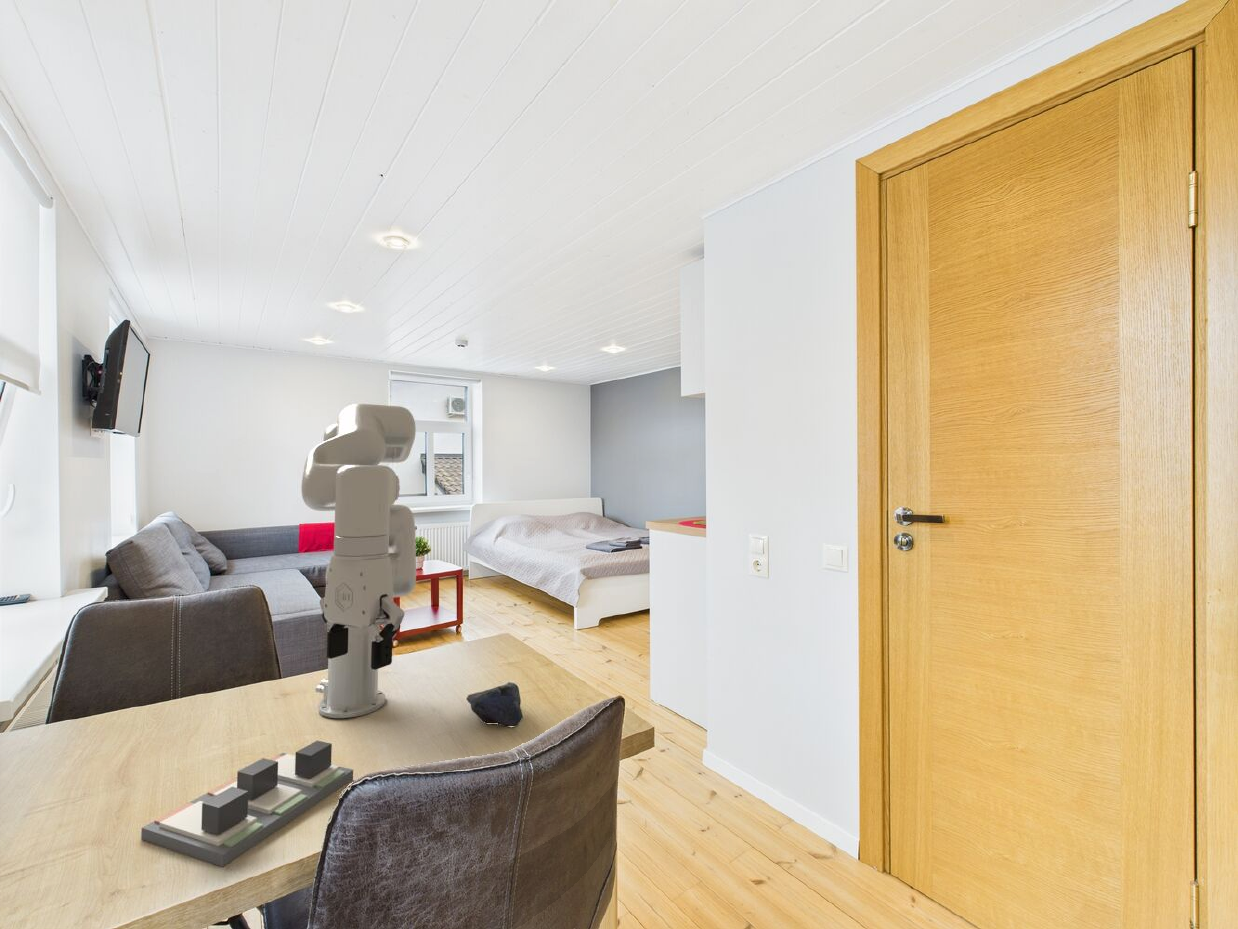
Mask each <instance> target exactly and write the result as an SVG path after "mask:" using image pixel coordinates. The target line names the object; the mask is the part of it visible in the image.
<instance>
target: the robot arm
mask: <svg viewBox="0 0 1238 929" xmlns="http://www.w3.org/2000/svg"><path fill="white" fill-rule="evenodd" d="M416 431H417V429H416V421H415V417H414V416H413V414H412V413H411V411H410V410H408V408H406V407H403V406H400V405H385V404H384V405H383V404H370V403H357V404H351V405H348V406H346V407H344V409H342V410H341V411H340V413H339V415H338V418H337V423H334V424H332V425H329V426H328V427H327V428H326V429H325V431H324V433H323V442H321V443H319V444H317V445H315V447H313V448H312V449H311V450H310V452H309V453H308V455H307V457H306V458H305V459H306V460H305V463H304V467H303V472H302V478H301V479H302V480H301V496H302V500H303V503H304V504H305V505H306V506H307V507H308V508H309V509H311V510H314V511H317V512H318V511H320V512H332V511H334V534H333V535H334V536H333V539H334V540H333V555H332V556H331V558H330V562H329V563H328V564H327V567H326V570H325V591H324V597H322V598H320V599H319V605H320V608H321V609H320V610H321V613H322V614H321V617H322V619H323V621H324V623H325V625H324V629H325V631H326V632H327V638H326V639H327V640H326V658H327V659H328V661H327V662H328V663H327V664H328V665H327V679H325V678H324V679H322V680H321V681H320V682H319V683H320V684H318V685H317V686H316V687H315V692H316V693H319V694H323V699H322V700H320V702H319V704H318V708H317V709H318V713H319V715H322V716H323V717H326V718H330V719H350V718H356V717H360V716H364V715H367V714H370V713H372V712H374V711H377V710H379V709H380V708H381V707H383V705H385V703H386V694H385V693H384V692H383V691H381V690H378V689H379V688H378V687H379V669H382V668H384V667H387V666H390V665H391V664H392V663H393V639H394V638H395V637H396V636H397V633H398V631H399V630H400V629H401V624H402V622H403V620H404V617H405V611H404V610H403V609H402V608H401V607H400V606H399V605H398V604H397V603H396V602H395V601H394V598H401V597H407V596H409V595H410V594H411V593H413V591H414V590H415V589H416V588H415V587H416V582H417V560H416V559H417V554H416V527H415V526H416V524H415V518H414V514H413V511H412V510H411V508H410V507H408V506H406V505H403V504H395V502H396V501H397V500H399V496H400V490H401V488H400V487H401V486H400V478H399V476H398V475H396V472H395V471H394V470H393V469H392V467H389V466H387V465H381V464H380V463H391V464H392V463H393V464H394V463H395V464H396V463H397V464H398V463H402V462H405V461H407V459H408V458H409V457H410V453H411V451H412V448H413V445H414V442H415V439H416V433H417V432H416ZM389 549H390V550H391V551H393V552H389ZM380 626H382V627H383V628H382V629H380Z"/></svg>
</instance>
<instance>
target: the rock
mask: <svg viewBox="0 0 1238 929" xmlns="http://www.w3.org/2000/svg"><path fill="white" fill-rule="evenodd" d="M467 695H468V696H467V697H466V701H467V703H469V704H470V709H471V711H472V712H473V713H474V714H475V716H477V717H478V718H480V719H481V720H482V721H483V722H482V721H481V720H480V719H479V720H480V721H481V722H482V723H484V722H485V723H498V724H500V725H502V726H504V727H507V726H516V725H517V726H518V725H519V724H520V722H521V721H522V720H523V711H522V708H521V703H522V702H521V701H522V700H521V695H520V688H519V686H518V685H517V684H516V683H515V682H510V681H508V682H507V683H505V684H504V685H499V686H496V687H493V688H490V689H485V690H482V691H479V692H475V693H471V694H467ZM485 723H484V724H485ZM517 726H516V727H517Z"/></svg>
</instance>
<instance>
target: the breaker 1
mask: <svg viewBox="0 0 1238 929" xmlns="http://www.w3.org/2000/svg"><path fill="white" fill-rule="evenodd" d="M247 817H248V791H246V790H242V789H239V788H235V787H231V788H229V789H227V790H225V791H223V792H222V793H220V794H218V795H216V796H214V797H212V798H211V799H209V800H207V801H205V802H203V803H202V826H201V830H203V831H206V832H209V833H212V834H215V835H219V834H221V833H222V832H224V831H226V830H227V829H229V828H231V827H232V826H234V825H236V824H237V823H239V822H240V821H242V820H244V819H245V818H247Z"/></svg>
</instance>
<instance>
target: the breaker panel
mask: <svg viewBox="0 0 1238 929" xmlns="http://www.w3.org/2000/svg"><path fill="white" fill-rule="evenodd" d="M295 756H296V755H294V754H293V755H292V754H290V753H285V752H282V753H280V754H278V755H274V756H273V757H271V758H269V760H273V761H277V762H278V783H277V786H275V787H274V788H272V789H270V790H269V791H267V792H265V793H264V794H262V795H260V796H258V797H257V798H255V799H253V800H249V799H248V817H247V818H245V819H244V820H242V821H240V822H239V823H237V824H236V825H234V826H232V827H231V828H229V829H227V830H226V831H224V832H222V833H221V834H219V835H215V834H212V833H209V832H206V831H203V830H201V826H202V803H203V802H205V801H207V800H209V799H211V798H212V797H214V796H216V795H218V794H220V793H222V792H223V791H225V790H227V789H229V788H231V787H235V788H237V776H235V777H234V778H231V779H230V780H228V781H226V782H224V783H222V784H220V785H219V786H217V787H215V788H213V789H211V790H210V791H207V792H205V793H204V794H203V795H201V796H199V797H197V798H195V799H193V800H191V801H190V802H187V803H185V804H183V805H181V806H179V807H177V808H175V809H173V810H172V811H169V812H168V813H166V814H164V815H162V816H160V817H158V818H157V819H155V820H153V821H152V822H150V823H148V824H146V825H144V826H142V827H141V832H140V834H141V837H140V839H141V840H143V841H146V842H148V843H151V844H155V845H157V846H160V847H164V848H166V849H169V850H172V851H175V852H178V853H180V854H184V855H187V856H189V857H192V858H196V859H198V860H201V861H204V862H207V863H210V864H213V865H216V866H219V867H221V868H223V867H224V866H226V865H228V864H230V862H232V861H234V860H235V859H236V858H238V857H239V856H241V855H243V854H244V853H245V852H247V851H249V850H250V849H251V848H253V847H254V846H256V845H257V844H259V843H260V842H262V841H263V840H265V839H267V838H268V837H269V836H271V835H272V834H274V833H275V832H277V831H278V830H280V829H281V828H283V827H284V826H285V825H287V824H289V823H290V822H292V821H293V820H294V819H296V818H297V817H299V816H300V815H302V814H303V813H305V812H306V811H308V810H309V809H311V808H312V807H314V806H315V805H316V804H319V803H320V802H322V801H323V800H324V799H325V798H327V797H328V796H330V795H332V794H333V793H335V792H336V791H338V790H339V789H341V788H342V787H343V786H345V785H347V784H348V783H349V782H351V781H352V780H354V769H351V768H347V767H344V766H339V765H336V764H332V763H331V766H330V767H328V768H327V769H325V770H324V771H322V772H320V773H319V774H317V775H315V776H314V777H312V778H310V779H309V778H305V777H301V776H297V775H295Z"/></svg>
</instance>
